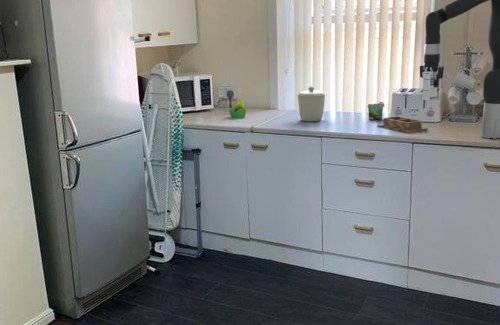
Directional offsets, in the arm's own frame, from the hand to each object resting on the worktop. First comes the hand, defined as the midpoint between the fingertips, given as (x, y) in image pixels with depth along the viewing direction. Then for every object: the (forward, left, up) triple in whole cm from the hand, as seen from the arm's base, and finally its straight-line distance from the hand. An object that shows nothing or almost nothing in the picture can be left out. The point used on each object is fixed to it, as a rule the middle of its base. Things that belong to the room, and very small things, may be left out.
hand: (430, 86), depth 258 cm
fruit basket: (+111, +56, -25) cm, 127 cm away
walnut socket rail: (+19, 0, -25) cm, 31 cm away
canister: (+71, +25, -25) cm, 79 cm away
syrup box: (0, 0, -7) cm, 7 cm away
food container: (+48, -8, -25) cm, 55 cm away
